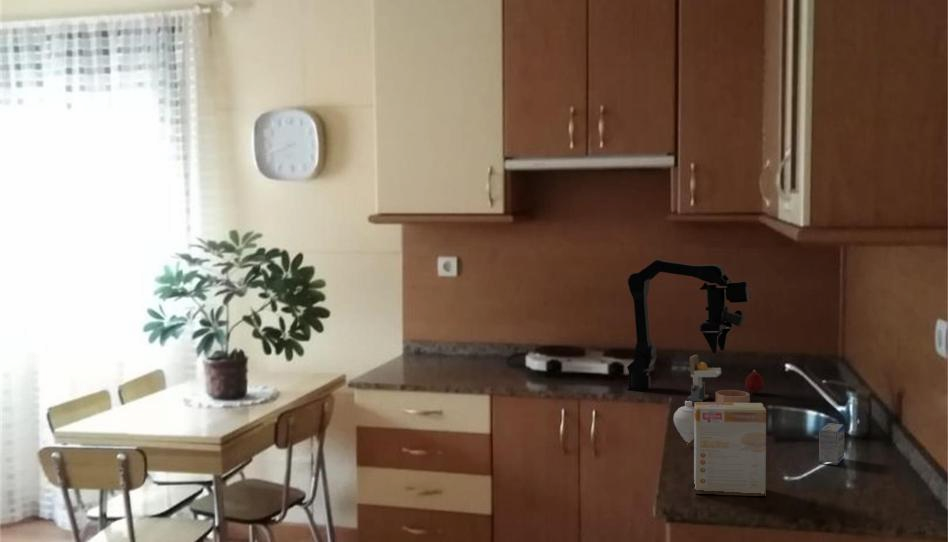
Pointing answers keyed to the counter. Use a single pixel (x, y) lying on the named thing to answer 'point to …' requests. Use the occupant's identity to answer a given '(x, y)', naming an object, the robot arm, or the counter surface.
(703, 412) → the coffeecake box
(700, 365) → the ball
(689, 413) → the spinning top
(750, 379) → the onion
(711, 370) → the lever chute
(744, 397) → the pinkish brown round bowl
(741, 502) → the counter surface
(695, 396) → the stand
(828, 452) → the medicine box
